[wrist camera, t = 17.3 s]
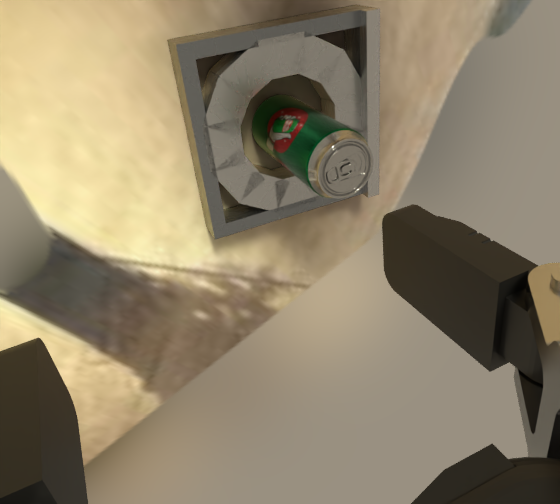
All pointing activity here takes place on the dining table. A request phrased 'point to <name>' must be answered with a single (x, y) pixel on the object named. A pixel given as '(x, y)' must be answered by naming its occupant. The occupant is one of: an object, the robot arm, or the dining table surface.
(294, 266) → the dining table surface
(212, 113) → the jig
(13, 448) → the robot arm
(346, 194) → the soda can
